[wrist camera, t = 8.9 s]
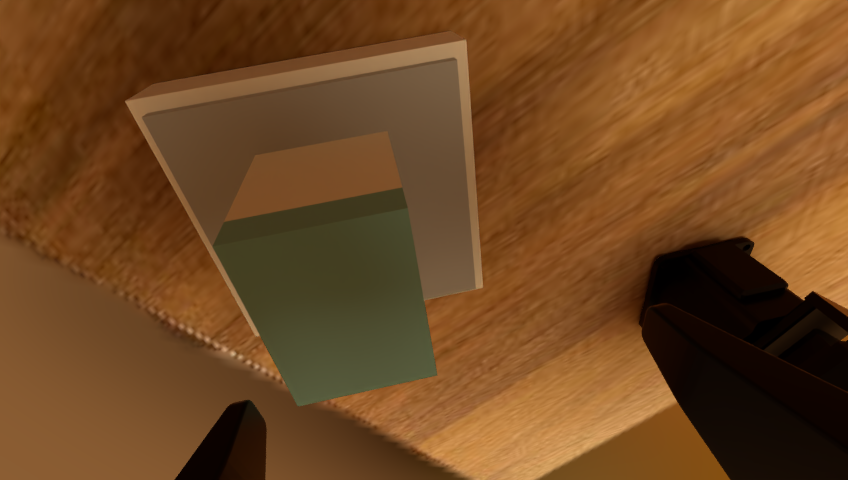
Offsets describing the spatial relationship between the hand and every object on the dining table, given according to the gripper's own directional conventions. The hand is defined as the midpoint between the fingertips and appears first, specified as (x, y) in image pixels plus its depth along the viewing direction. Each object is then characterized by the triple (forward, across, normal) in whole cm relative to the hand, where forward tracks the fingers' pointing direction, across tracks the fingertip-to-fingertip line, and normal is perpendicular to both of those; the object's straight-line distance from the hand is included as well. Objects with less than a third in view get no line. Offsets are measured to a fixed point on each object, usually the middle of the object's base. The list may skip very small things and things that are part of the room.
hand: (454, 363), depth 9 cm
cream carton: (+9, +3, +1) cm, 10 cm away
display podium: (+12, +3, +1) cm, 13 cm away
